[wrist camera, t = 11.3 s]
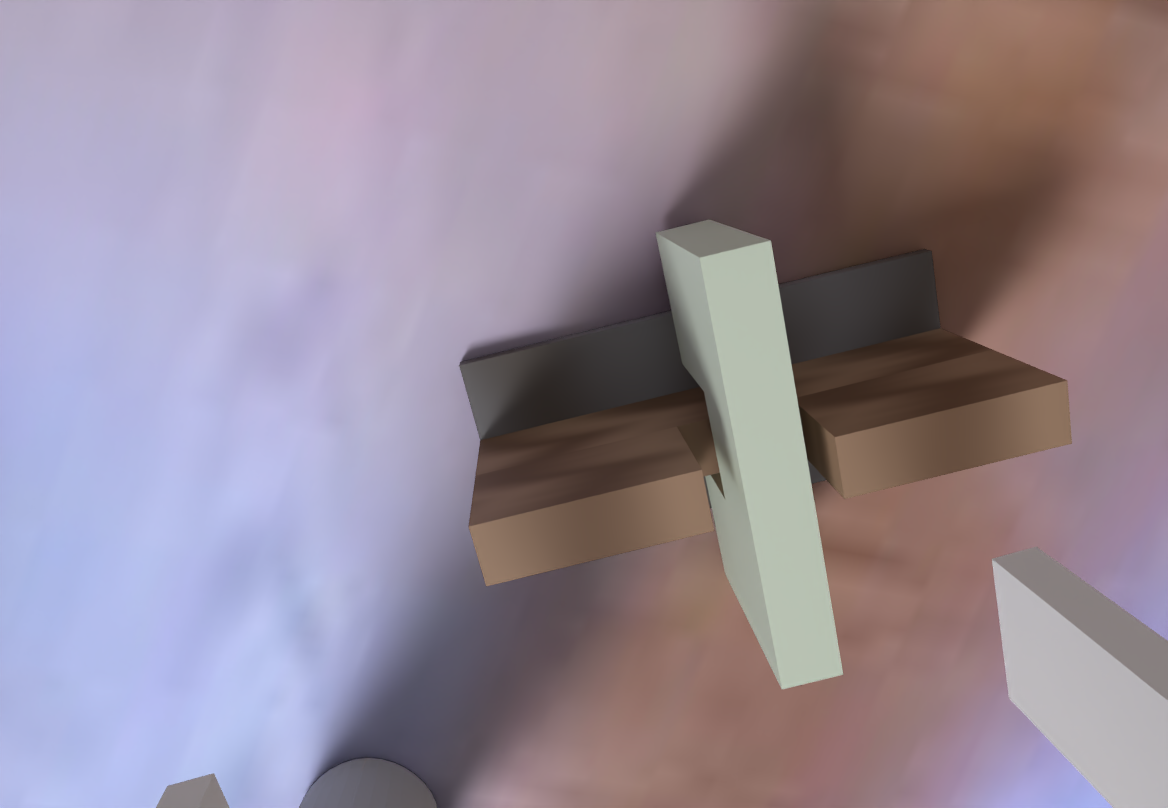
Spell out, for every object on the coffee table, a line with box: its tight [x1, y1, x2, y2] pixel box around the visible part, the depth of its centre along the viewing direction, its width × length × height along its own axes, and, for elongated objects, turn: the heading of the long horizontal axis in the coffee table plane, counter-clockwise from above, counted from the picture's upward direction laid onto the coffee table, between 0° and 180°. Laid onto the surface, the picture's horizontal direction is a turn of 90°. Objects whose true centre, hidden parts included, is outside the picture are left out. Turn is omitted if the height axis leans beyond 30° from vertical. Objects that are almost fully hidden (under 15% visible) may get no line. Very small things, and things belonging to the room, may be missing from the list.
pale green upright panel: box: [656, 219, 843, 689], centre depth 30 cm, size 14×2×8 cm, turn 13°
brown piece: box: [459, 249, 1072, 586], centre depth 30 cm, size 18×8×9 cm, turn 103°
